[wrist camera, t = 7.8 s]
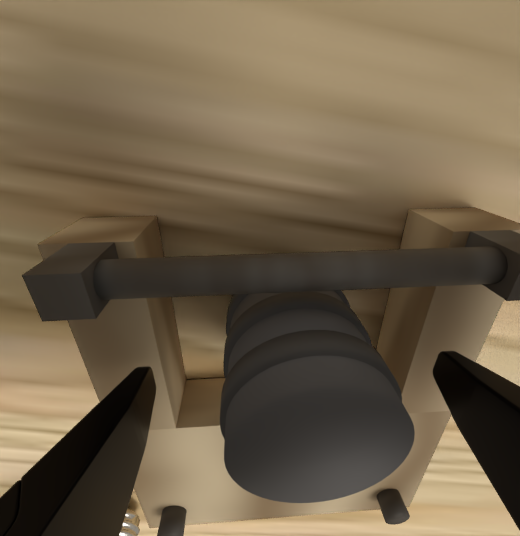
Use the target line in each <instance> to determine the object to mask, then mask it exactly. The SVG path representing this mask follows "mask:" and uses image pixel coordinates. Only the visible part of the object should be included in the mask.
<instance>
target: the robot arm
mask: <svg viewBox="0 0 520 536" xmlns="http://www.w3.org/2000/svg"><path fill="white" fill-rule="evenodd" d="M433 377H434V379H435V381H436V383H437V386H438V388H439V390H440V392H441V394H442V396H443V398H444V400H445V402H446V404H447V406H448V408H449V410H450V412H451V415H452V417H453V419H454V421H455V422H456V424H457V426H458V428H459V430H460V432H461V433H462V435H463V437H464V438H465V440H466V442H467V443H468V445H469V447H470V448H471V450H472V452H473V453H474V455H475V457H476V458H477V460H478V462H479V463H480V465H481V467H482V468H483V470H484V472H485V473H486V475H487V477H488V478H489V480H490V482H491V483H492V485H493V487H494V488H495V490H496V492H497V493H498V495H499V497H500V498H501V500H502V502H503V503H504V505H505V507H506V508H507V510H508V512H509V513H510V515H511V517H512V518H513V520H514V522H515V523H516V525H517V527H518V528H519V530H520V386H518V385H516V384H514V383H512V382H510V381H509V380H507V379H505V378H503V377H501V376H500V375H498V374H496V373H494V372H492V371H490V370H489V369H487V368H485V367H483V366H481V365H479V364H478V363H476V362H474V361H472V360H470V359H469V358H467V357H465V356H463V355H461V354H459V353H458V352H456V351H441V352H440V353H439V354H438V356H437V359H436V362H435V364H434V367H433ZM155 396H156V383H155V379H154V375H153V371H152V368H151V367H149V366H144V367H137V368H135V369H134V370H133V371H132V372H131V373H130V374H129V375H128V376H127V377H125V378H124V379H123V380H122V381H121V382H120V383H119V384H118V385H117V386H116V387H115V388H114V389H113V390H112V391H111V392H110V393H109V394H108V395H107V396H106V397H105V398H104V399H103V400H102V401H101V402H100V403H98V404H97V405H96V406H95V407H94V408H93V409H92V410H91V411H90V412H89V413H88V414H87V415H86V416H85V417H84V418H83V419H82V420H81V421H80V422H79V423H78V424H77V425H76V426H75V427H74V428H73V429H71V430H70V431H69V432H68V433H67V434H66V435H65V436H64V437H63V438H62V439H61V440H60V441H59V442H58V443H57V444H56V445H55V446H54V447H53V448H52V449H51V450H50V451H49V452H48V453H47V454H45V455H44V456H43V457H42V458H41V459H40V460H39V461H38V462H37V463H36V464H35V465H34V466H33V467H32V468H31V469H30V470H29V471H28V472H27V473H26V474H25V475H24V476H23V477H22V478H21V480H19V481H17V482H16V483H15V484H14V485H13V486H12V487H11V488H10V489H9V490H8V491H7V492H6V493H5V494H4V495H3V496H2V497H1V498H0V536H119V535H120V532H121V529H122V525H123V522H124V519H125V515H126V512H127V508H128V505H129V502H130V498H131V495H132V492H133V488H134V485H135V482H136V478H137V475H138V471H139V468H140V465H141V461H142V458H143V455H144V451H145V447H146V443H147V438H148V433H149V428H150V422H151V417H152V412H153V406H154V401H155Z"/></svg>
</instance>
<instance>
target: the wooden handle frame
mask: <svg viewBox="0 0 520 536" xmlns="http://www.w3.org/2000/svg"><path fill="white" fill-rule="evenodd" d="M37 245H38V247H39V250H40V252H41V255H42V257H43V260H44V261H42V262H41V263H39V264H38V265H36V266H35V267H33V268H32V269H30V270H29V271H28V272H26V273H25V274H23V275H22V277H23V279H24V281H25V283H26V286H27V288H28V290H29V292H30V295H31V297H32V299H33V301H34V304H35V306H36V308H37V310H38V313H39V315H40V317H41V319H42V321H60V320H67V321H68V323H69V326H70V328H71V331H72V333H73V336H74V338H75V341H76V343H77V346H78V348H79V351H80V353H81V356H82V358H83V361H84V363H85V366H86V369H87V371H88V374H89V376H90V379H91V381H92V384H93V386H94V389H95V391H96V394H97V396H98V399H99V401H100V402H101V401H102V400H103V399H104V398H105V397H106V396H107V395H108V394H109V393H110V392H111V391H112V390H113V389H114V388H115V387H116V386H117V385H118V384H119V383H120V382H121V381H122V380H123V379H124V378H125V377H127V376H128V375H129V374H130V373H131V372H132V371H133V370H134V369H135V368H137V367H144V366H149V367H151V368H152V371H153V375H154V379H155V383H156V396H155V401H154V406H153V412H152V417H151V422H150V428H149V433H148V438H147V443H146V447H145V451H144V455H143V458H142V461H141V465H140V468H139V471H138V475H137V478H136V482H135V485H134V490H135V492H136V495H137V497H138V500H139V502H140V505H141V507H142V510H143V513H144V515H145V518H146V520H147V523H148V525H149V528H157V527H159V530H158V534H157V536H183V534H184V527H185V525H194V524H206V523H219V522H231V521H243V520H255V519H268V518H280V517H292V516H304V515H317V514H329V513H341V512H353V511H365V510H378V509H381V511H382V514H383V516H384V519H385V522H386V523H388V524H400V523H403V522H405V521H406V520H408V519H409V517H410V516H409V513H408V511H407V508H406V507H409V506H410V504H411V502H412V500H413V497H414V495H415V493H416V491H417V489H418V486H419V484H420V482H421V480H422V478H423V476H424V473H425V471H426V469H427V467H428V465H429V462H430V460H431V458H432V456H433V454H434V451H435V449H436V447H437V445H438V443H439V441H440V438H441V436H442V434H443V432H444V430H445V427H446V425H447V423H448V421H449V419H450V416H451V412H450V410H449V408H448V406H447V404H446V402H445V400H444V398H443V396H442V394H441V392H440V390H439V388H438V386H437V383H436V381H435V379H434V377H433V367H434V364H435V362H436V359H437V356H438V354H439V353H440V352H441V351H456V352H458V353H459V354H461V355H463V356H465V357H467V358H469V359H470V360H472V361H474V362H476V360H477V357H478V355H479V353H480V351H481V349H482V346H483V344H484V342H485V340H486V338H487V336H488V333H489V331H490V329H491V327H492V325H493V322H494V320H495V318H496V316H497V314H498V311H499V309H500V307H501V305H502V303H503V301H504V299H505V300H506V301H514V300H520V223H517V222H515V221H512V220H509V219H506V218H503V217H500V216H498V215H495V214H492V213H489V212H486V211H483V210H480V209H478V208H440V209H409V211H408V216H407V220H406V224H405V228H404V233H403V237H402V241H401V246H400V249H397V250H367V251H337V252H307V253H277V254H248V255H218V256H188V257H164V253H163V248H162V242H161V237H160V231H159V226H158V220H157V216H134V217H96V218H81V219H80V220H78V221H76V222H75V223H73V224H71V225H69V226H68V227H66V228H64V229H63V230H61V231H59V232H58V233H56V234H54V235H52V236H51V237H49V238H47V239H46V240H44V241H42V242H40V243H39V244H37ZM381 288H390V292H389V297H388V301H387V305H386V309H385V314H384V318H383V322H382V327H381V331H380V335H379V339H378V344H377V348H376V351H377V352H378V353H379V354H380V355H381V356H382V358H383V360H384V361H385V363H386V364H387V366H388V368H389V369H390V371H391V373H392V374H393V376H394V377H395V379H396V381H397V382H398V385H399V387H400V390H401V395H402V403H403V405H404V407H405V409H406V410H407V412H408V414H409V415H410V417H411V419H412V422H413V425H414V431H415V435H414V442H413V446H412V448H411V450H410V452H409V454H408V456H407V457H406V459H405V460H404V462H403V463H402V464H401V465H400V466H399V467H398V468H397V469H396V470H395V471H394V472H393V473H391V474H390V475H389V476H387V477H386V478H385V479H383V480H382V481H380V482H378V483H377V484H375V485H373V486H371V487H369V488H367V489H365V490H363V491H360V492H358V493H355V494H352V495H349V496H346V497H342V498H338V499H334V500H329V501H323V502H314V503H287V502H279V501H273V500H269V499H265V498H262V497H259V496H256V495H254V494H252V493H250V492H248V491H246V490H244V489H243V488H242V487H240V486H239V485H238V484H237V483H236V482H235V481H233V479H232V478H231V477H230V475H229V474H228V472H227V469H226V467H225V463H224V443H225V440H224V438H223V435H222V433H221V429H220V407H221V393H222V388H223V384H224V381H225V378H213V379H195V380H186V376H185V370H184V365H183V359H182V353H181V348H180V342H179V337H178V331H177V326H176V320H175V315H174V309H173V303H172V298H171V297H185V296H210V295H234V294H259V293H283V292H308V291H332V290H357V289H381Z"/></svg>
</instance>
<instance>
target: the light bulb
mask: <svg viewBox="0 0 520 536" xmlns="http://www.w3.org/2000/svg"><path fill="white" fill-rule="evenodd" d="M139 522H140V519H139V516H138V515H137V514H136V513H135V512H134V511H133V510H132V509H130V508H129V507H128V508H127V512H126V515H125V519H124V522H123V525H122V529H121V532H120V535H119V536H137V535H138V534H139V531H140V529H139V527H138V526H139Z"/></svg>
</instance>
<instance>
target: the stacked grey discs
mask: <svg viewBox="0 0 520 536" xmlns="http://www.w3.org/2000/svg"><path fill="white" fill-rule="evenodd" d="M226 334H227V338H226V343H225V350H224V375H225V381H224V384H223V388H222V393H221V407H220V429H221V433H222V435H223V438H224V440H225V443H224V463H225V467H226V469H227V472H228V474H229V475H230V477H231V478H232V479H233V481H235V482H236V483H237V484H238V485H239V486H240V487H242V488H243V489H244V490H246V491H248V492H250V493H252V494H254V495H256V496H259V497H262V498H265V499H269V500H273V501H279V502H287V503H314V502H323V501H329V500H334V499H338V498H342V497H346V496H349V495H352V494H355V493H358V492H360V491H363V490H365V489H367V488H369V487H371V486H373V485H375V484H377V483H378V482H380V481H382V480H383V479H385V478H386V477H387V476H389V475H390V474H391V473H393V472H394V471H395V470H396V469H397V468H398V467H399V466H400V465H401V464H402V463H403V462H404V460H405V459H406V457H407V456H408V454H409V452H410V450H411V448H412V446H413V442H414V435H415V431H414V425H413V422H412V419H411V417H410V415H409V414H408V412H407V410H406V409H405V407H404V405H403V403H402V395H401V390H400V387H399V385H398V382H397V381H396V379H395V377H394V376H393V374H392V373H391V371H390V369H389V368H388V366H387V364H386V363H385V361H384V360H383V358H382V356H381V355H380V354H379V353H378V352H377V351H376V350H375V348H373V347H372V344H371V340H370V338H369V335H368V333H367V332H366V330H365V328H364V327H363V325H362V323H361V322H360V320H359V319H358V317H357V315H356V314H355V313H354V312H353V311H352V309H351V308H350V305H349V303H348V301H347V299H346V297H345V296H344V294H343V292H342V291H341V290H332V291H308V292H283V293H259V294H234V295H233V297H232V299H231V301H230V304H229V307H228V312H227V322H226Z"/></svg>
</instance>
